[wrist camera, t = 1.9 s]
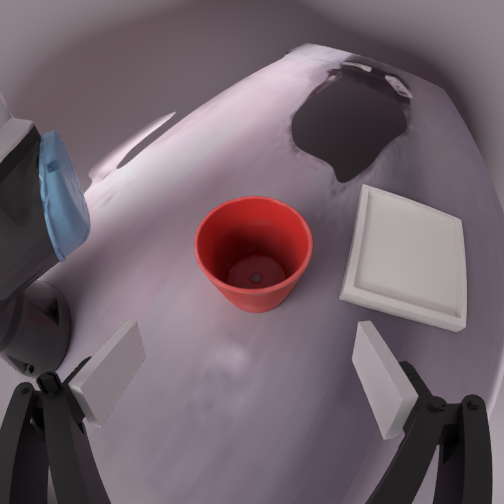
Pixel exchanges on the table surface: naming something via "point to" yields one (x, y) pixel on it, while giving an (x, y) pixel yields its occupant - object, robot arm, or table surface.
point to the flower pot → (254, 251)
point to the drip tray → (407, 261)
